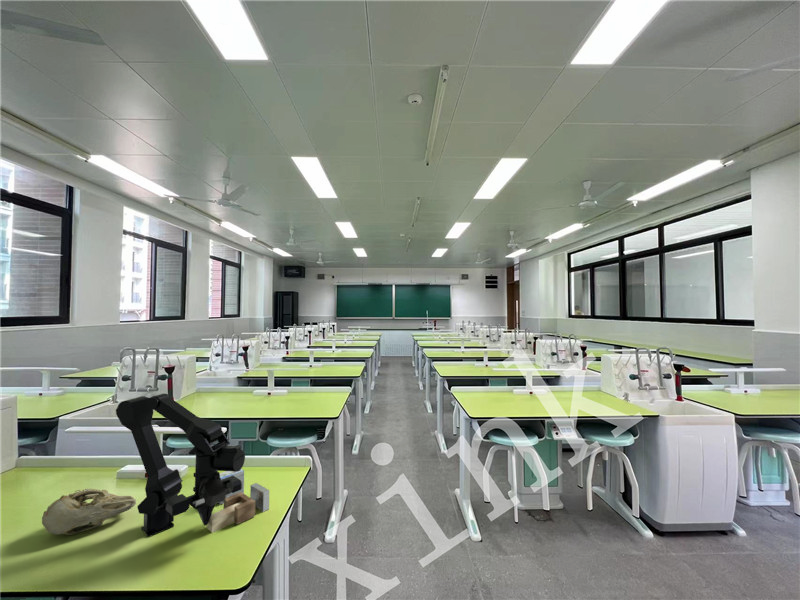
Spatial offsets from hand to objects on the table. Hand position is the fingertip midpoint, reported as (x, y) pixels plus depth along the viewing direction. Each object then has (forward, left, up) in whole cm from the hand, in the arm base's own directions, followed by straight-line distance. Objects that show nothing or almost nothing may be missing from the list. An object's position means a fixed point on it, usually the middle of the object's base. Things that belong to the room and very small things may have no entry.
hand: (205, 524), depth 99 cm
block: (+6, 0, -2) cm, 6 cm away
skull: (-20, +30, -2) cm, 36 cm away
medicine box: (+13, +13, -2) cm, 19 cm away
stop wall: (+17, 0, -2) cm, 17 cm away
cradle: (+10, 0, -2) cm, 10 cm away
